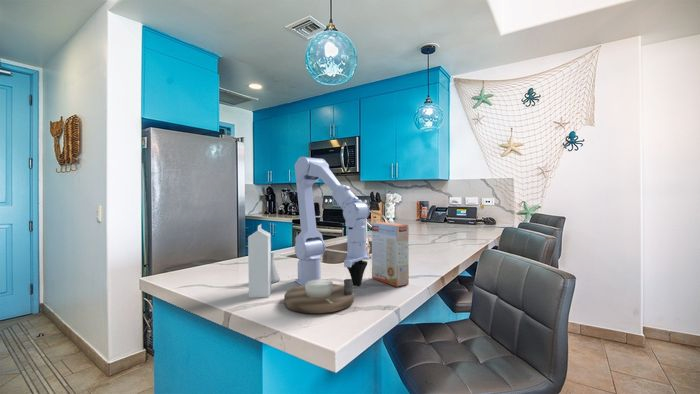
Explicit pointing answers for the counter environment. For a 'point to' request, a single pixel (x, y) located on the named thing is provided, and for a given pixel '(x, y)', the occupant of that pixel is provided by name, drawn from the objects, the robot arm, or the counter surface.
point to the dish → (318, 288)
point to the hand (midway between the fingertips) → (356, 285)
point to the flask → (274, 271)
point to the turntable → (320, 299)
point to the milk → (259, 263)
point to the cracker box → (390, 253)
